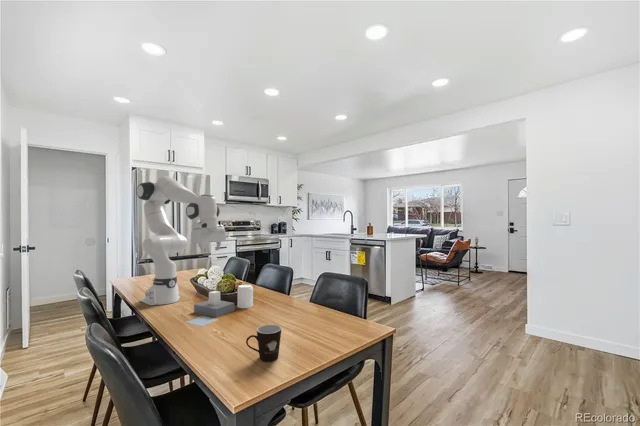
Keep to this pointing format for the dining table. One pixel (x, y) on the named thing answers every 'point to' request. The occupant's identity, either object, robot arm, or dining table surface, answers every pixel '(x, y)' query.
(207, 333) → the dining table surface
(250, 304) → the beverage can
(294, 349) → the dining table surface
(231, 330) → the dining table surface
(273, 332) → the coffee mug
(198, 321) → the mat
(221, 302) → the block
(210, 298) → the plug
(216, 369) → the dining table surface
